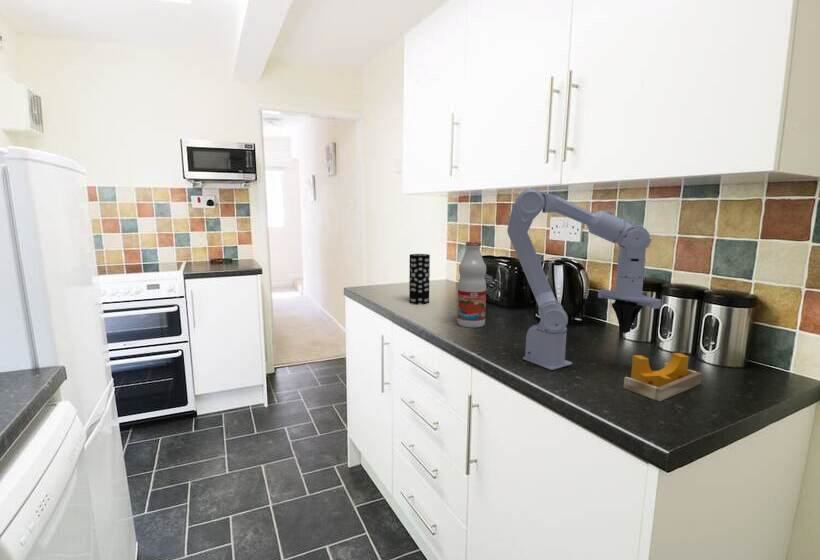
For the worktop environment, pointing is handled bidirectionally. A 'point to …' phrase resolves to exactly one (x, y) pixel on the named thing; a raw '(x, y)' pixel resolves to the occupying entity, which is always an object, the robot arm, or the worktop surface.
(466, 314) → the fruit juice
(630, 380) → the tray
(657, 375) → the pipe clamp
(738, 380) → the worktop surface
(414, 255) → the spotted tube
